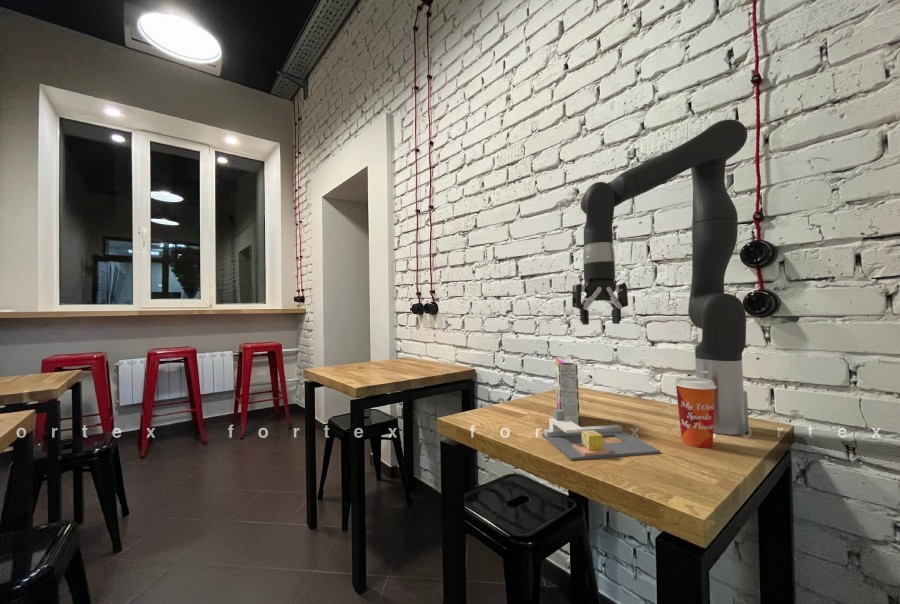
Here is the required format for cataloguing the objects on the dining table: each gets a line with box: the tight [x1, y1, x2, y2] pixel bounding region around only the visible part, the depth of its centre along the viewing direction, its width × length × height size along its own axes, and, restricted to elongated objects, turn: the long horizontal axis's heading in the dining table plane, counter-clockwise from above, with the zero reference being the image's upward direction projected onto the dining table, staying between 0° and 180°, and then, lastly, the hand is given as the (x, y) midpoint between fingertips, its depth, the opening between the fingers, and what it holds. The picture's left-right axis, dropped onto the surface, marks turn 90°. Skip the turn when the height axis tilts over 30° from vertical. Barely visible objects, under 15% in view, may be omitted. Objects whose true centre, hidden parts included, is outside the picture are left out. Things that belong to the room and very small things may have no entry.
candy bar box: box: [554, 356, 581, 427], centre depth 96 cm, size 11×5×16 cm, turn 168°
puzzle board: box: [541, 424, 661, 461], centre depth 79 cm, size 20×15×2 cm
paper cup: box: [673, 376, 717, 449], centre depth 78 cm, size 8×8×14 cm
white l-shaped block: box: [548, 408, 584, 433], centre depth 81 cm, size 4×9×5 cm, turn 8°
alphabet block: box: [582, 430, 603, 450], centre depth 74 cm, size 3×3×3 cm
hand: (600, 324), depth 92 cm, fingers open, 8 cm apart
